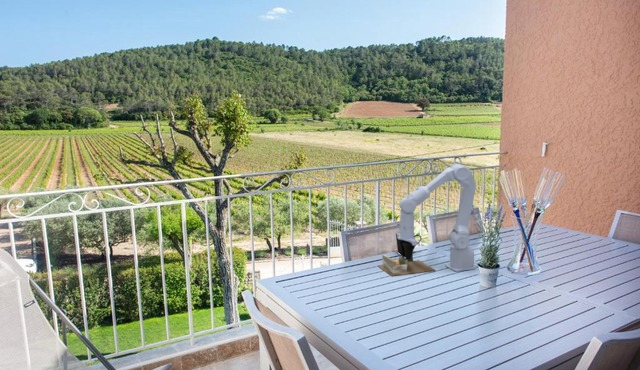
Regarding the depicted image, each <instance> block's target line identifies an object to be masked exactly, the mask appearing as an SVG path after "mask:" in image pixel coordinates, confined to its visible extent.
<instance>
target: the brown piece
mask: <svg viewBox="0 0 640 370" xmlns="http://www.w3.org/2000/svg"><path fill="white" fill-rule="evenodd" d="M394 260H397V258H396V257H389V256H388V255H386V254H382V264H379V265H377V267H378V268H379V269H381V270H382V271H383V272H385V273H386V274H388V276H389V275H390V277H399V276H400V277H401V276H408V275H409V276H410V275H415V274H423V273H424V274H425V273H430V272H436V271H437V270H436V269H435V268H433V267H431V266H430V265H429V264H426V263H424V262H423V261H421V260H413V262H408V268H407V265H397V266H396V261H394Z"/></svg>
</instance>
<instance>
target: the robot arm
mask: <svg viewBox="0 0 640 370" xmlns="http://www.w3.org/2000/svg"><path fill="white" fill-rule="evenodd" d="M456 181H457V182H458V183H459V185H460V186H461V188H462V190H461V194H460V198H459V199H460V200H459V203H458V204H459V205H458V209H457V214H456V219H455V224H454V225H453V227H452V231H451V232H450V233H449V235H448V238H449V241H450V243H451V244H450V246H449V263H448V264H445V267H447V268H448V269H450V270H451V271H454V272H461V271H463V272H464V271H470V270H475V269H476V267H475V252H474V251H475V250H474V249H473V248H472V247H471V246H470V243H471V242H470V241H471V239H470V237H469V236H470V230H469V226H470V225H469V224H470V219H471V213H472V209H473V204H474V199H475V193H476V189H477V184H476V181H475V179H474V176H473V171H471V169H469V167H468V166H466V165H463V164H461V163H459V162H458V163H452V165H450V167H446V169H444V170H443V171H442V172H441V173H440V174H438V175H437V176H436V177H434V179H432V180H431V181H430V182H428V183H427V185H425V186H423V185H421V186H416V187H415V190H414V191H412V192H411V193H409V194H406V197H403V198H402V199H401V200H400V201H399V203H398V205H399V209H400V216H399V231H400V233H397V237H398V239H399V240H398V244H399V246H400V249H401V253H402V255H401V256H402V257H404V258H405V259H411V257H412V253H413V254H414V250H415V248H416V246H418V244H417V243H418V239H416V237H414V236H415V215H414V214H415V213H414V212H415V210H416V209H417V207H419V206H420V205H421V204H423V203H424V202H425V201H426V200H428V198H430V197H431V193H432V192H433V191H435V190H436V189H438V188H439V187H440V186H442V185H444V184H445V183H446V182H456Z"/></svg>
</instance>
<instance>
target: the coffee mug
mask: <svg viewBox="0 0 640 370" xmlns="http://www.w3.org/2000/svg"><path fill="white" fill-rule="evenodd" d="M397 233H400V230H398V231H396V232H395V238H396V247H397V253H398V252H399V253H400V254H401V255H400V256H402V253H401V249H400V246H399V244H398V240H399V239H398V237H397ZM414 237H415V238H416V237H419V240H418V241H417V245H419V244H420V242H421V241H422V236H421V235H420V234H414Z"/></svg>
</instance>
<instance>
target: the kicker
mask: <svg viewBox="0 0 640 370" xmlns="http://www.w3.org/2000/svg"><path fill="white" fill-rule="evenodd" d="M413 254H414V252H413V253H412V257H411V259H406V257H402V255H399V256H398V261H399V263H400V265H407V268H408V262H413V261H414V257H413V256H414V255H413Z"/></svg>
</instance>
